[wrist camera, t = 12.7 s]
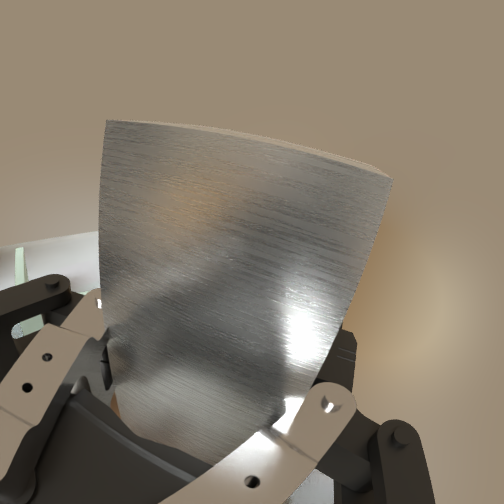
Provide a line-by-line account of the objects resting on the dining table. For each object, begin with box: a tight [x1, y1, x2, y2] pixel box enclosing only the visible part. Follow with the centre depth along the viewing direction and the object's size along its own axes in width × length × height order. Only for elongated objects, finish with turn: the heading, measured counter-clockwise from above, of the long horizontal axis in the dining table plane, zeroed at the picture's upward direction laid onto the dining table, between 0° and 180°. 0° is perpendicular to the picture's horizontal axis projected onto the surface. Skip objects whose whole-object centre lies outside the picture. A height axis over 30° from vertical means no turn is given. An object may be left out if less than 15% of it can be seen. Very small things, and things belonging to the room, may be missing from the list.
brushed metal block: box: [99, 120, 394, 466], centre depth 9 cm, size 5×5×14 cm
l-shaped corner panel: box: [15, 247, 89, 336], centre depth 27 cm, size 12×12×8 cm
